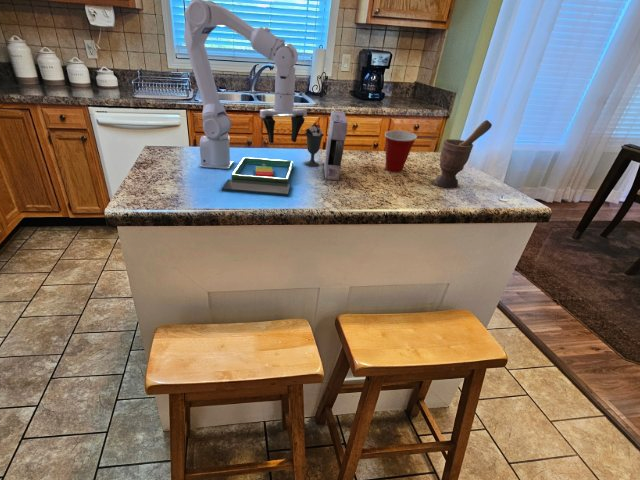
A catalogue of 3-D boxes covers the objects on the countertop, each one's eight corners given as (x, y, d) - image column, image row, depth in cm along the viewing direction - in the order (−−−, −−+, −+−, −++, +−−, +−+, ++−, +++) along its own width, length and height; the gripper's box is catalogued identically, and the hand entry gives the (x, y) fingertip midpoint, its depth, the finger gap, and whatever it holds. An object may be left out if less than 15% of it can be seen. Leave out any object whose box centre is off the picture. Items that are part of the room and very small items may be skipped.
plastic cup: (375, 171, 133) (382, 134, 126) (381, 163, 141) (387, 128, 134) (406, 176, 130) (415, 139, 123) (411, 168, 138) (419, 132, 131)
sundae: (321, 162, 138) (325, 117, 130) (320, 167, 133) (325, 121, 124) (303, 160, 139) (306, 115, 130) (302, 166, 133) (305, 119, 125)
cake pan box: (340, 182, 121) (348, 121, 111) (324, 181, 121) (331, 120, 111) (337, 164, 137) (344, 110, 126) (323, 163, 137) (329, 109, 127)
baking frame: (231, 181, 117) (231, 174, 115) (243, 163, 133) (243, 157, 132) (287, 185, 116) (287, 179, 115) (292, 166, 132) (293, 161, 131)
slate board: (221, 191, 109) (221, 188, 109) (228, 182, 116) (227, 179, 115) (287, 196, 108) (287, 193, 108) (290, 187, 115) (290, 184, 114)
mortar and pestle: (461, 180, 129) (481, 116, 117) (473, 189, 122) (496, 121, 110) (428, 180, 128) (446, 114, 116) (439, 188, 121) (459, 120, 109)
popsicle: (255, 180, 118) (255, 174, 117) (255, 166, 130) (255, 160, 129) (273, 181, 118) (273, 175, 117) (271, 167, 131) (272, 161, 130)
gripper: (265, 95, 107) (265, 146, 115) (312, 95, 112) (308, 144, 120) (257, 91, 112) (257, 140, 120) (302, 91, 117) (299, 138, 125)
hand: (282, 141), depth 120 cm, fingers open, 7 cm apart
